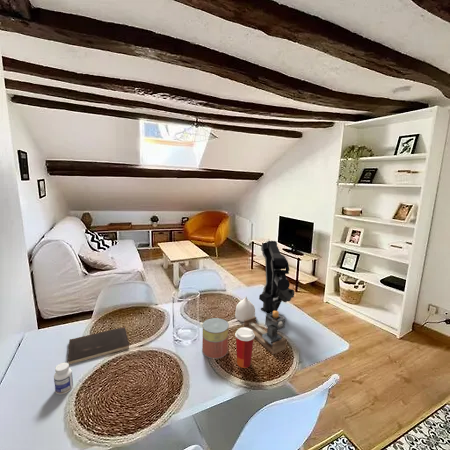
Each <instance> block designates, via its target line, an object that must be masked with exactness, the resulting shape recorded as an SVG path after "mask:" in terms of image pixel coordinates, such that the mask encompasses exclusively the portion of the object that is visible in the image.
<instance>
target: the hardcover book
mask: <svg viewBox="0 0 450 450" xmlns="http://www.w3.org/2000/svg"><path fill="white" fill-rule="evenodd" d="M128 349H130V342H129V338H128V333H127V330H126V327H125V326H123V327H118V328H114V329H110V330H105V331H102V332H97V333H92V334H89V335H83V336H80V337H75V338H72V339H70V338H69V342H68V351H67V352H68V355H67V362H66V363H68V364H69V365H71V364H76V363H80V362H83V361H86V360H90V359H94V358H98V357H101V356H105V355H106V356H107V355H109V354H112V353H116V352H117V353H118V352H120V351H123V350H128Z"/></svg>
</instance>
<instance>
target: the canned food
mask: <svg viewBox="0 0 450 450" xmlns="http://www.w3.org/2000/svg"><path fill="white" fill-rule="evenodd" d="M201 325H202V342H201V343H202V348H201V352H202V355H204V356H205V357H206V358H208V359H212V358H214V359H213V360H218V359H221V358H223V357H226V355H227V354H228V353H229V352H228V351H229V349H228V347H229V328H230V327H229V326H230V325H229V322H228V321H227V320H225V319H223V318H221V317H219V318H218V317H212V318H207V319H206V320H204V321H203V323H202V324H201Z"/></svg>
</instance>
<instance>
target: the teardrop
mask: <svg viewBox="0 0 450 450" xmlns="http://www.w3.org/2000/svg"><path fill="white" fill-rule="evenodd" d="M234 317H235V319H236V320H237V321H239V322H241V323H242V322H243V323H244V320H246V319H249V318H252V317H256V308H255V305H254V304H253V303H252V302H251V300H249V299H248V297H247V296H245V297H244V298H243V299H242V300H240V301H239V302H238V303H237V304H236V306H235V315H234Z"/></svg>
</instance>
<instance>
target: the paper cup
mask: <svg viewBox="0 0 450 450" xmlns="http://www.w3.org/2000/svg"><path fill="white" fill-rule="evenodd" d="M234 336H235V338H236V339H235V343H236V344H235V345H236V347H235V348H236V365H237V366H238V367H239V368H241V369H248V368H249V367H250V366H251V364H252V356H253V349H254V348H253V347H254V339H255V338H254V337H255V335H254V333H253V331H252V330H251V329H249V328H245V327H244V326H243V327H239V328H238V329H237V330H236V332H235V334H234Z"/></svg>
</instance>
